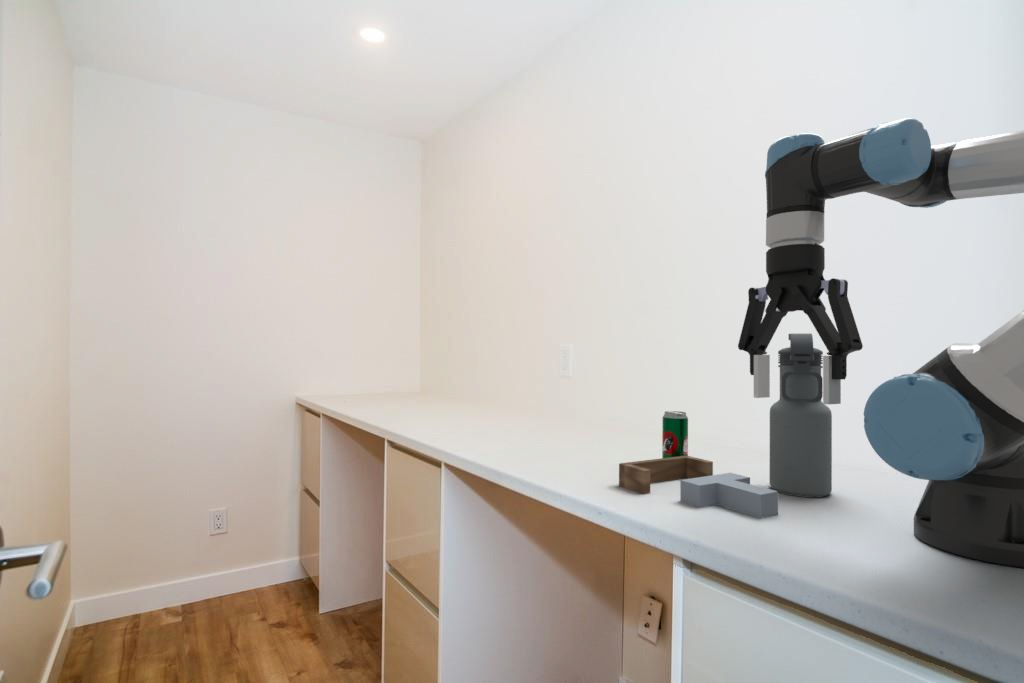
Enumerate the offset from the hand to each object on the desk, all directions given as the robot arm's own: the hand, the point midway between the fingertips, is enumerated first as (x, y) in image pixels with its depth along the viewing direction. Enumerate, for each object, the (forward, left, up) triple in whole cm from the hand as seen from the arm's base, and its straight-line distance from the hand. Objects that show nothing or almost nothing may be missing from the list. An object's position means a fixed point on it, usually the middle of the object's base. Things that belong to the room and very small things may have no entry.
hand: (794, 400), depth 78 cm
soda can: (+33, -10, -18) cm, 39 cm away
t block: (+10, 0, -18) cm, 20 cm away
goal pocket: (+25, 0, -18) cm, 31 cm away
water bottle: (+11, -18, -18) cm, 28 cm away
